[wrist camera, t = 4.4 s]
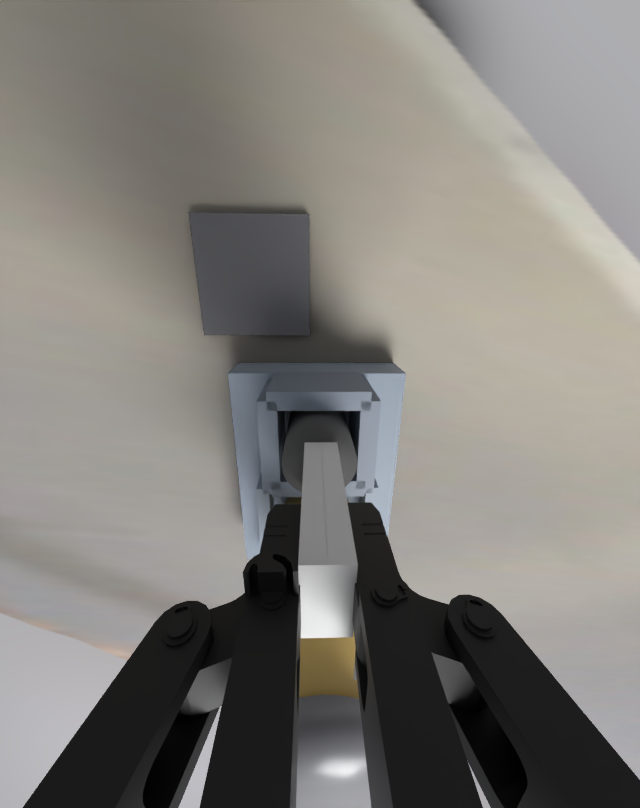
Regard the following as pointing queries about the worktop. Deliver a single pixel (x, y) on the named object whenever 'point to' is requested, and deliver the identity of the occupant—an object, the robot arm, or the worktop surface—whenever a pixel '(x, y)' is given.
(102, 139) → the worktop surface
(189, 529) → the worktop surface
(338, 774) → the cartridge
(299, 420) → the plunger
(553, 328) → the worktop surface
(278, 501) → the housing
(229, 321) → the mat
